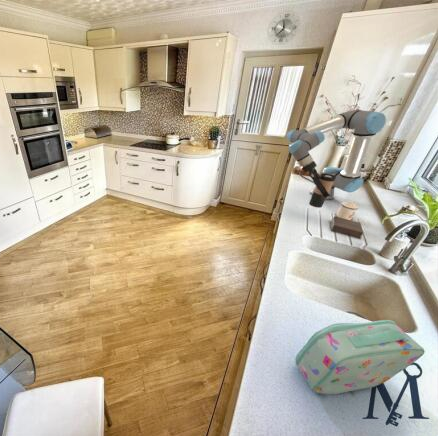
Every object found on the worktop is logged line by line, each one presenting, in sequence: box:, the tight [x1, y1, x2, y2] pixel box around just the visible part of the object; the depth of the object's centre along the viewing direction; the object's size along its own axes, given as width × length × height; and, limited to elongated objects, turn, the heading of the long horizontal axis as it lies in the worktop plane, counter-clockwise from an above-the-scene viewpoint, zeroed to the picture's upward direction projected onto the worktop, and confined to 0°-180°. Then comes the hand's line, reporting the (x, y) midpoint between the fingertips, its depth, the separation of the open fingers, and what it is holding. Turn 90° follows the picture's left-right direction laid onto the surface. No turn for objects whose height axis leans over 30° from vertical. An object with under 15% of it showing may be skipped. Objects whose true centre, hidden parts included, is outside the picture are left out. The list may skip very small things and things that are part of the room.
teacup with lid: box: [335, 200, 359, 221], centre depth 156 cm, size 12×9×12 cm
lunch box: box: [294, 319, 426, 396], centre depth 64 cm, size 27×10×21 cm, turn 99°
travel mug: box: [308, 173, 336, 208], centre depth 145 cm, size 8×8×20 cm
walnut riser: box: [330, 215, 364, 239], centre depth 143 cm, size 14×14×4 cm
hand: (326, 194), depth 145 cm, fingers closed on travel mug, 8 cm apart
